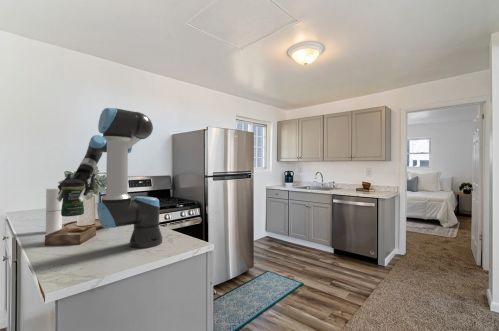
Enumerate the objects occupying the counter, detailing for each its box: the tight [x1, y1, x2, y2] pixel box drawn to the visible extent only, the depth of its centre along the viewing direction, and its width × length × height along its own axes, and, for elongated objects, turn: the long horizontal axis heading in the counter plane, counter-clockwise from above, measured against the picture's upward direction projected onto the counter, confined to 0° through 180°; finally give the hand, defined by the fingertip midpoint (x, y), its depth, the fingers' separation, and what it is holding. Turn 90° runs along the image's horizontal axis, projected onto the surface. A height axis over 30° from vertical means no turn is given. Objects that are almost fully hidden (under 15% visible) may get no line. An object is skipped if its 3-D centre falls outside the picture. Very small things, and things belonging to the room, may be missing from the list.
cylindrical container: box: [45, 187, 63, 235], centre depth 139 cm, size 7×7×25 cm
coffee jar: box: [61, 179, 85, 217], centre depth 125 cm, size 10×8×19 cm
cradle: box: [44, 226, 97, 246], centre depth 124 cm, size 16×16×5 cm
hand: (69, 200), depth 121 cm, fingers closed on coffee jar, 9 cm apart
